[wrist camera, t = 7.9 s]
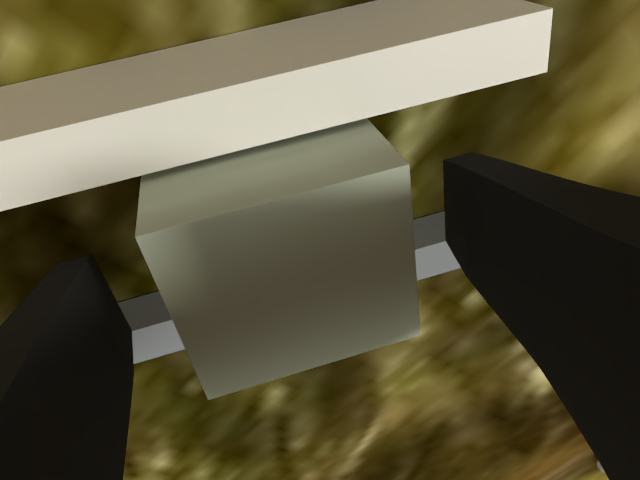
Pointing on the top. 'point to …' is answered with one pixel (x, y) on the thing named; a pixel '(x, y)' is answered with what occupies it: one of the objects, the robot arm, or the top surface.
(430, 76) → the board
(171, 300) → the cabinet block
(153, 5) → the top surface
